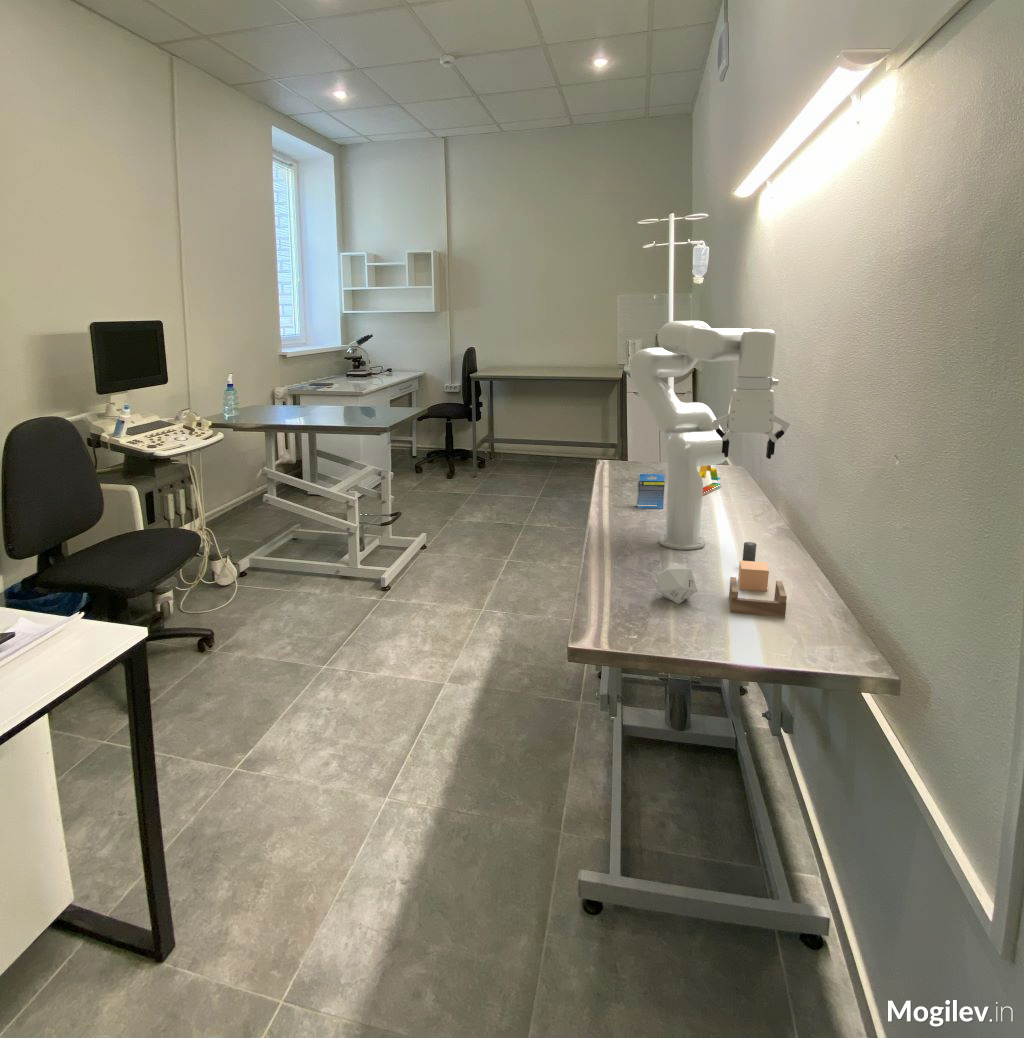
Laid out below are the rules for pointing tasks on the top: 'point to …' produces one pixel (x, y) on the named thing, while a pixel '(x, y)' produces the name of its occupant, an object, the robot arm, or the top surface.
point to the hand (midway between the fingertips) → (747, 457)
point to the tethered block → (752, 570)
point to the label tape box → (650, 490)
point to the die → (676, 583)
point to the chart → (713, 477)
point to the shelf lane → (758, 602)
